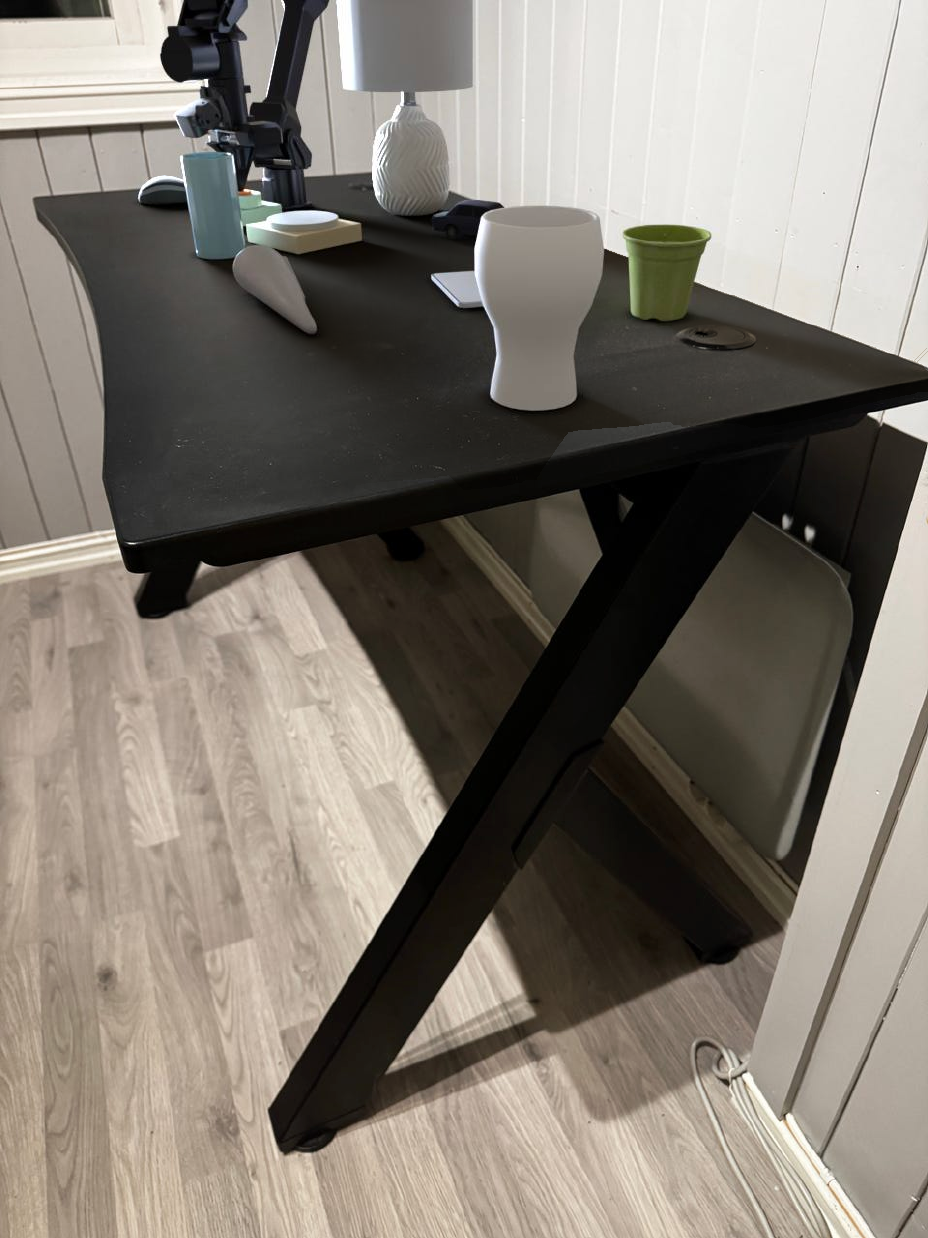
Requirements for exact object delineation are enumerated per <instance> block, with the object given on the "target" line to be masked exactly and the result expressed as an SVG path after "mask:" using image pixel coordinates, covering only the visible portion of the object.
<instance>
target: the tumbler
mask: <svg viewBox="0 0 928 1238" xmlns="http://www.w3.org/2000/svg"><path fill="white" fill-rule="evenodd" d="M179 158H180V165H181V170H182V176H183V180H184V183H185V189H186V195H187V201H188V202H187V206H188V207H187V208H188V211H189V212H188V214H189V218H190V225H191V231H192V236H193V243H194V249H195V252H196V253H195V254H196V256H197V257H198V258H201V259H204V260H205V259H206V260H226V259H235V258H236V256H237V255H238V254H239V253H240V252H241V251H242V250H243V249H245V248H247V247H246V240H245V239H246V238H245V232H244V226H243V224H242V217H241V210H240V202H239V195H238V187H237V180H236V172H235V165H234V158H233V154H231V153H226V152H216V151H203V152H201V151H200V152H191V153H185V154H182V155H180V156H179Z"/></svg>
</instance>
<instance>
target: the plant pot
mask: <svg viewBox="0 0 928 1238" xmlns="http://www.w3.org/2000/svg"><path fill="white" fill-rule="evenodd" d="M712 235H713V234H712V233H711V232H710V231H709V230H707V229H704V228H700V227H696V226H689V225H685V224H684V225H682V224H666V223H665V224H644V225H636V226H633V227H632V226H631V227H628V228H626V229H625V230H623V231H622V232H621V237H622V238H623V239H624V240H625V250H626V253H627V254H628V273H629V294H630V295H629V296H630V312H631V313H630V314H632V316H634V317H635V318H638V319H640V320H643V321H649V320H650V319H656V320H658V321H659V322H670V321H676V320H677V321H678V320H680V319H682V318H684V317H685V315H686V314H687V312H688V308H689V304H690V302H691V301H690V300H691V296H692V292H693V288H694V284H695V280H696V277H697V272H698V268H699V264H700V261H701V258H702V255H703V254H704V252H705V250H706V247H707V243H708V242H709V241H711V239H712V237H713V236H712Z"/></svg>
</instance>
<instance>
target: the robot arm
mask: <svg viewBox="0 0 928 1238" xmlns="http://www.w3.org/2000/svg"><path fill="white" fill-rule="evenodd" d="M281 2H282V6H283V8H284V9H283V10H284V11H283V14H282V20H281V24H280V29H279V33H278V39H277V43H276V48H275V52H274V58H273V63H272V67H271V71H270V76H269V81H268V86H267V91H266V96H265V98H264V99H263V100H262V101H252V102H251V104H250V106H249V110H248V102H247V94H251V93H252V87H251V85H250V84H245V78H244V71H243V69H244V68H243V62H242V54H241V47H240V42H246V41H247V40H248V36H247V35H246V33H245V32H244V31H243V30H242V29H241V28H240V27H239V26H238V24H237V23H238V22H239V21H240V19H241V18H242V17H243V15H244V14H245V13H246V11H247V10H248V8H249V0H182V5H181V8H180V12H179V16H178V19H177V24H176V25H167V27H166V29H167V30H166V31H167V36H166V38H165V39H163V42H162V45H161V48H160V53H159V59H160V63H161V66H162V69H163V70H164V72H165V74H166V76H168V77H169V78H170V79H171V80H172V81H174V82H176V83H180V84H181V83H190V82H191V83H192V82H199V81H205V85H200V88H199V99H197V100H195V101H192V102H190V103H189V104H187V105H186V106H184V107H182V108H181V109H179V110H177V111H176V112H175V113H174V114H173V116H174V118H175V120H176V122H177V124H178V126H179V129H180V131H181V133H182V135H183V137H184V138H191V139H199V138H202V137H204V136H206V135H208V141H205V142H204V143H205V144H206V146H208V147H209V148H211V149H212V150H213V151H214V152H226V153H231V154H233V158H234V165H235V172H236V180H237V187H238V191H243V190H244V189H246V184H247V181H248V178H249V174H250V171H251V167H252V164H253V165H254V168H262V172H263V178H262V181H261V182H262V189H263V198H264V201H266V202H271V203H276V204H281V207H282V211H290V210H296V209H301V208H302V209H303V208H307V207H312V206H314V205H313V202H312V201H308V200H307V190H306V179H305V170H309V168H311V167H312V160H313V153H312V151H311V149H310V148H309V147H308V145H307V144H306V143H305V141H304V139H303V137H302V123H301V121H300V118H299V115H298V113H297V105H298V100H299V95H300V91H301V86H302V81H303V76H304V71H305V67H306V62H307V58H308V54H309V48H310V43H311V40H312V39H311V38H312V34H313V30H314V25H315V22H316V20H317V19H319V17H320V16H321V15H322V14H323V12H324V11H325V10H326V9H327V8H328V6H329V3H330V0H281Z"/></svg>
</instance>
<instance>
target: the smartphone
mask: <svg viewBox="0 0 928 1238" xmlns="http://www.w3.org/2000/svg"><path fill="white" fill-rule="evenodd" d="M430 278H431V281H432V282H433V283H434V284H435V285H436V286H437V287H438V288H439V289H440V290H441V291H442V292H443V293H444V294H445V295H446V296H447V297H448V298H449V299H450V300H451V301H452V302H453V303H454V304H455V305H456V306H457V307H458V308H460V309H461V308H462V309H472V308H484V306H483V303H482V300H481V296H480V292H479V288H478V285H477V281H476V277H475V269H474V270H460V271H446V272H445V271H444V272H435V273H432V274H431V277H430Z"/></svg>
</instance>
